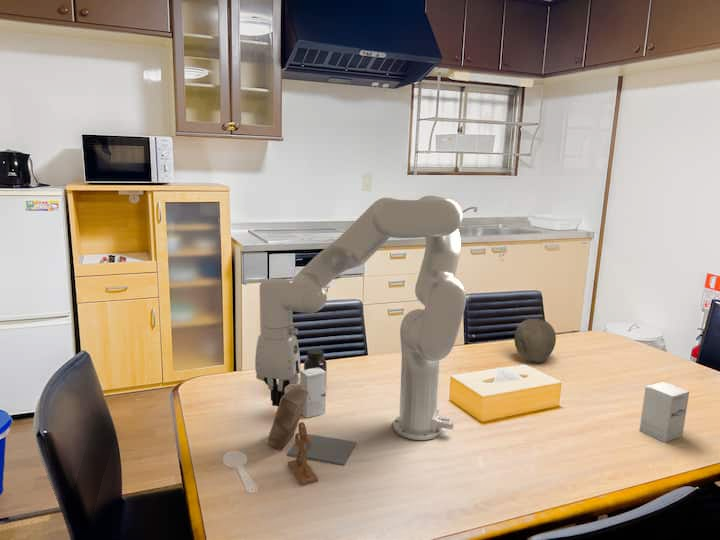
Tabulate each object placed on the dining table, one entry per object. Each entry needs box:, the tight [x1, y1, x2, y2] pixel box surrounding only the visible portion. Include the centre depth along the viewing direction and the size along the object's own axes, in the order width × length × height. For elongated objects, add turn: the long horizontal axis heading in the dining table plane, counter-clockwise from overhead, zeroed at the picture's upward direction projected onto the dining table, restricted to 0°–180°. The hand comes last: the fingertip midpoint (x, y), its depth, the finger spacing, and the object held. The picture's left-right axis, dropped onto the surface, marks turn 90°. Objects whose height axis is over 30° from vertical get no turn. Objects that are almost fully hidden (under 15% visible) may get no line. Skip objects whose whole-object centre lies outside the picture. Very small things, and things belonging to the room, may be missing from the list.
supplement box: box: [639, 381, 690, 443], centre depth 135 cm, size 7×7×13 cm
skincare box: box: [299, 367, 327, 419], centre depth 143 cm, size 6×4×12 cm
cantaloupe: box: [514, 318, 557, 363], centre depth 185 cm, size 14×14×15 cm
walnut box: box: [266, 385, 309, 451], centre depth 126 cm, size 4×7×13 cm, turn 165°
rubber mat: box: [286, 433, 357, 466], centre depth 125 cm, size 14×10×1 cm
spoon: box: [222, 450, 259, 494], centre depth 116 cm, size 5×18×1 cm, turn 29°
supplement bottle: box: [303, 348, 328, 373], centre depth 158 cm, size 7×7×12 cm
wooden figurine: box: [287, 421, 319, 487], centre depth 114 cm, size 9×4×12 cm, turn 27°
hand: (278, 403), depth 127 cm, fingers closed
